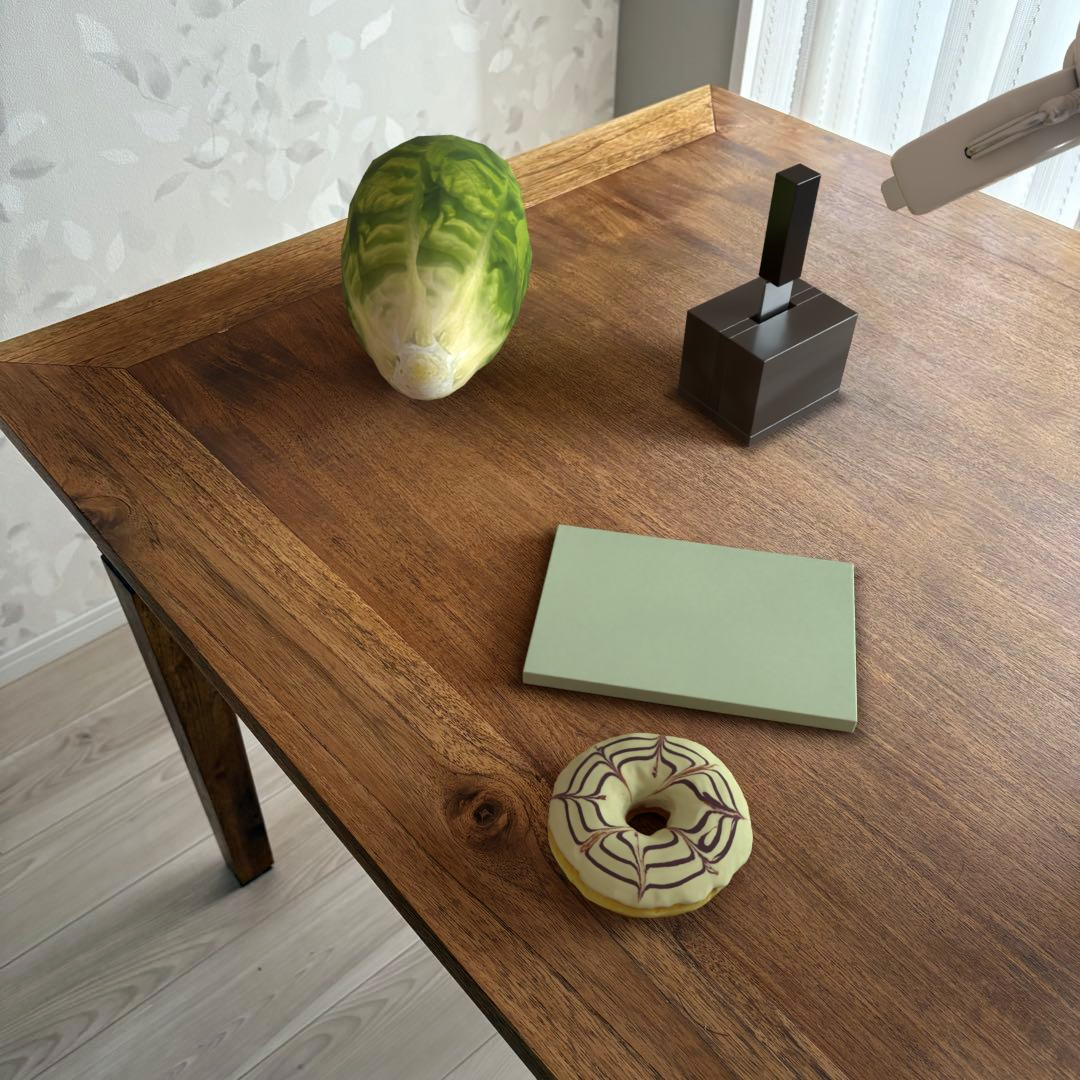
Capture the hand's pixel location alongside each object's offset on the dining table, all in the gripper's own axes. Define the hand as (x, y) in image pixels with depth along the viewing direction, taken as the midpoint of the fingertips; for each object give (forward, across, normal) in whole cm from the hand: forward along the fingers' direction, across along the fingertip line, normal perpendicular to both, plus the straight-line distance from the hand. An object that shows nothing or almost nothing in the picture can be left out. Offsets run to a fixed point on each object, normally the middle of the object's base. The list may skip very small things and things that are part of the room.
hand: (944, 172), depth 66 cm
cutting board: (+14, -20, -20) cm, 31 cm away
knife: (+23, 0, -9) cm, 25 cm away
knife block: (+24, 0, -9) cm, 26 cm away
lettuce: (+39, -16, +4) cm, 42 cm away
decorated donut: (+7, -33, -27) cm, 43 cm away
